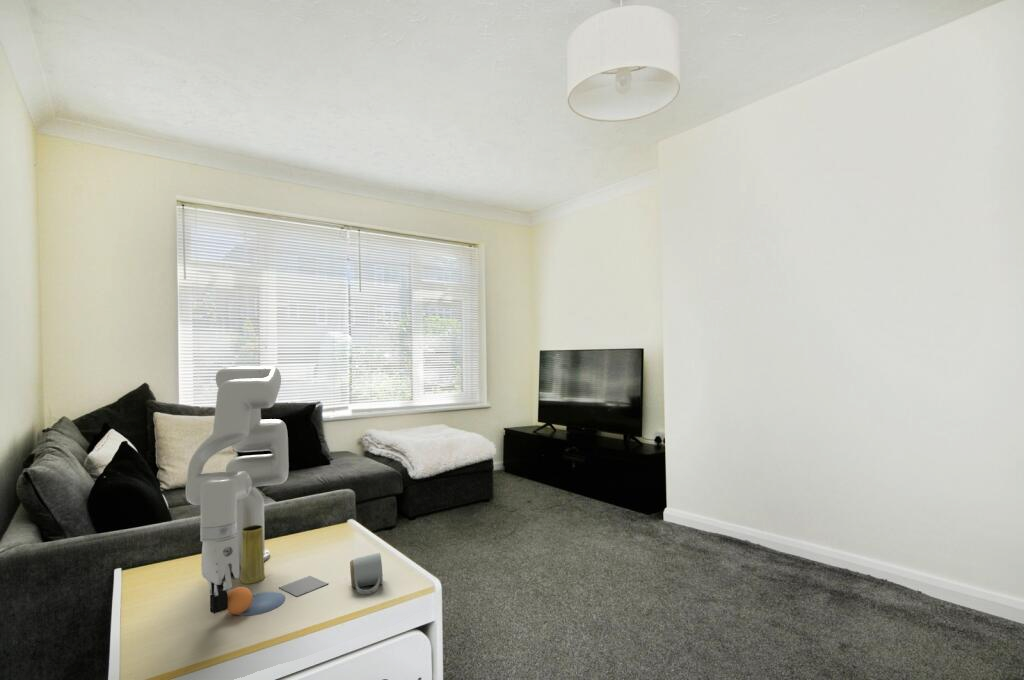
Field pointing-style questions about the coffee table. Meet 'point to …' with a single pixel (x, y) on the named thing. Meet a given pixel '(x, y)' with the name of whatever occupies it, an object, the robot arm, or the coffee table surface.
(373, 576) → the grey rounded holder
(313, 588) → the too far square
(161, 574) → the coffee table surface
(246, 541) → the vase
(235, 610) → the ball
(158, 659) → the coffee table surface
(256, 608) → the disc
